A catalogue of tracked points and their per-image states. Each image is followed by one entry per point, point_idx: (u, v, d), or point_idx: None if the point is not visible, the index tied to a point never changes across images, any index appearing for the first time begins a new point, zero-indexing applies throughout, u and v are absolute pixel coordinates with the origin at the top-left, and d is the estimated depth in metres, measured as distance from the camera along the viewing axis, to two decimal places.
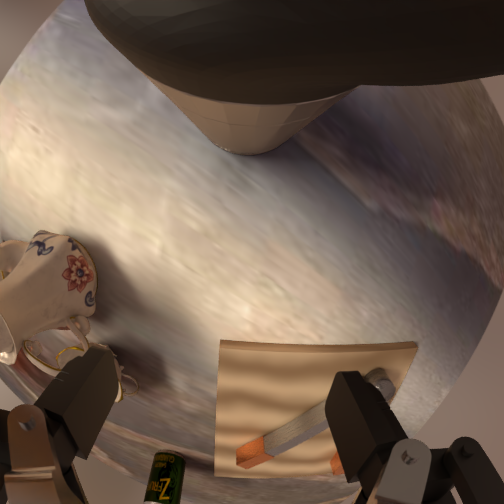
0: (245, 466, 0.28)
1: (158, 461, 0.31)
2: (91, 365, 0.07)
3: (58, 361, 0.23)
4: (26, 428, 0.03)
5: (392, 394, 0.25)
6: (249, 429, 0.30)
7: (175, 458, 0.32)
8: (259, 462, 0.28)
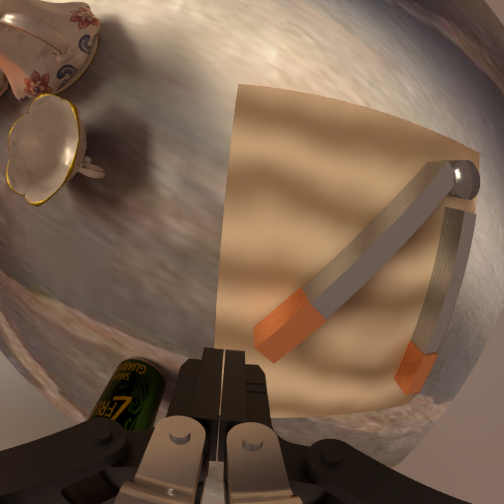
0: (271, 353, 0.19)
1: (118, 372, 0.21)
2: (217, 365, 0.08)
3: (10, 136, 0.13)
4: (189, 442, 0.05)
5: (477, 184, 0.16)
6: (277, 270, 0.21)
7: (147, 369, 0.23)
8: (298, 339, 0.18)
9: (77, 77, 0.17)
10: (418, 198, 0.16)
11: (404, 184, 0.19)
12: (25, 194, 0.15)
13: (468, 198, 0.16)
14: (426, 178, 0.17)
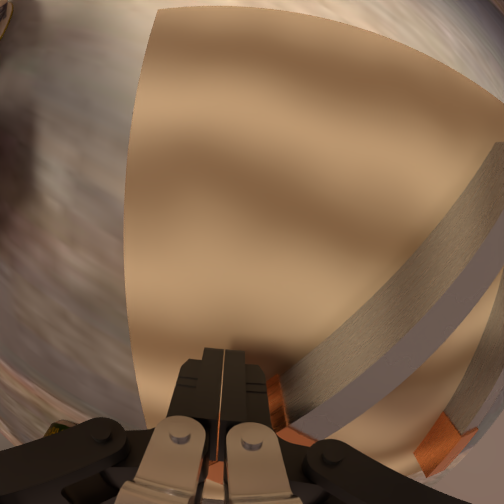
0: None
1: None
2: (217, 365, 0.08)
3: None
4: (189, 443, 0.05)
5: None
6: (233, 344, 0.11)
7: None
8: None
9: None
10: None
11: (464, 179, 0.09)
12: None
13: None
14: None
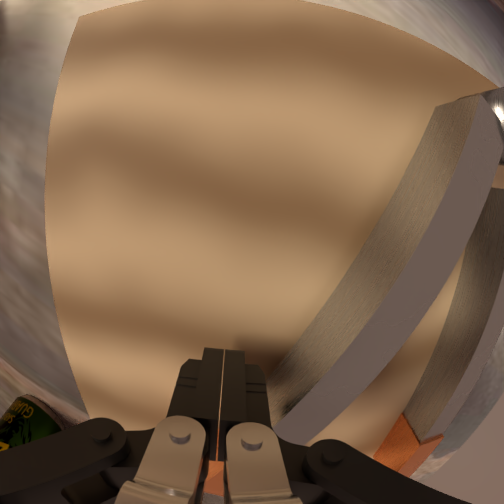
0: (220, 492, 0.09)
1: (8, 410, 0.11)
2: (217, 365, 0.08)
3: None
4: (189, 443, 0.05)
5: None
6: (132, 313, 0.10)
7: (35, 412, 0.13)
8: None
9: None
10: (443, 200, 0.06)
11: (394, 135, 0.09)
12: None
13: None
14: (448, 142, 0.06)
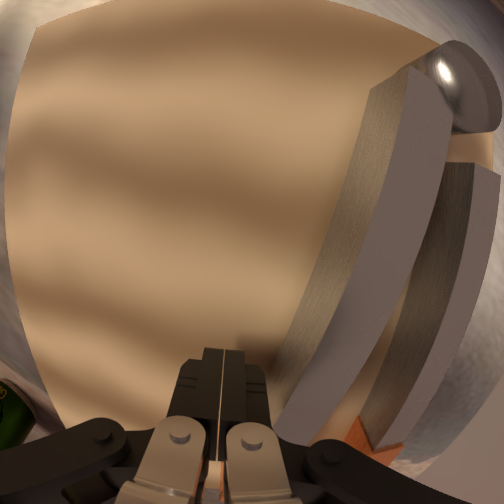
0: None
1: None
2: (217, 365, 0.08)
3: None
4: (189, 443, 0.05)
5: (493, 85, 0.05)
6: (70, 294, 0.10)
7: (8, 394, 0.12)
8: None
9: None
10: (377, 211, 0.06)
11: (317, 109, 0.09)
12: None
13: (492, 128, 0.05)
14: (381, 135, 0.06)
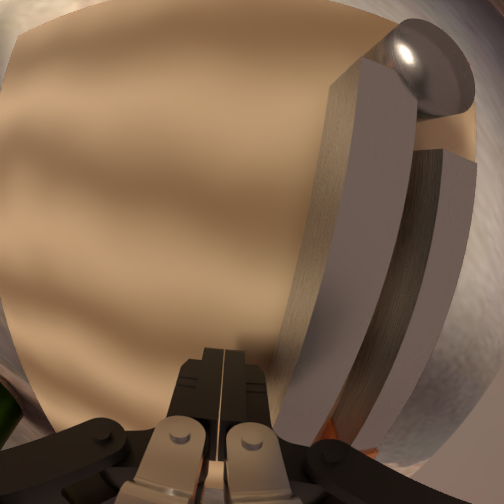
0: None
1: None
2: (217, 365, 0.08)
3: None
4: (189, 443, 0.05)
5: (462, 60, 0.05)
6: (45, 288, 0.10)
7: None
8: None
9: None
10: (339, 221, 0.06)
11: (272, 101, 0.08)
12: None
13: (465, 107, 0.05)
14: (339, 137, 0.07)
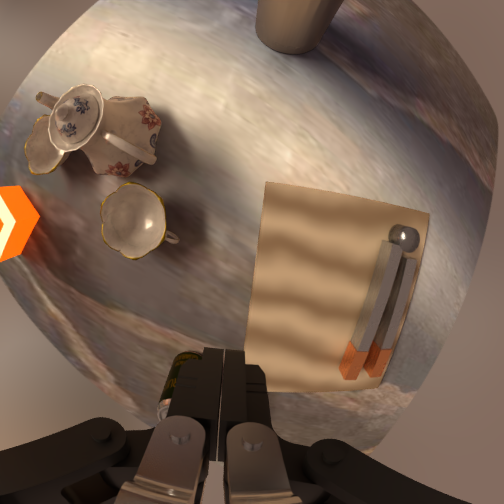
0: (352, 377, 0.34)
1: (179, 360, 0.35)
2: (217, 365, 0.08)
3: (102, 207, 0.28)
4: (189, 443, 0.05)
5: (417, 235, 0.30)
6: (286, 295, 0.35)
7: (198, 358, 0.36)
8: (360, 365, 0.34)
9: None
10: (383, 277, 0.31)
11: (367, 242, 0.34)
12: (120, 250, 0.29)
13: (414, 249, 0.30)
14: (384, 259, 0.32)
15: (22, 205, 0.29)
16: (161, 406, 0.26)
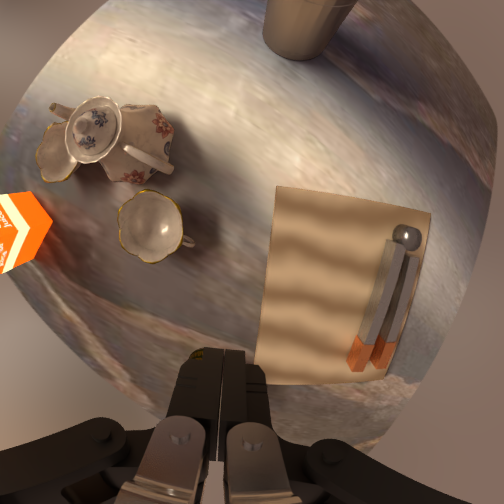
0: (359, 369, 0.36)
1: (195, 357, 0.37)
2: (217, 365, 0.08)
3: (119, 214, 0.30)
4: (189, 442, 0.05)
5: (420, 235, 0.31)
6: (297, 293, 0.36)
7: None
8: (367, 358, 0.36)
9: None
10: (388, 275, 0.33)
11: (372, 241, 0.35)
12: (138, 255, 0.31)
13: (417, 248, 0.32)
14: (388, 257, 0.33)
15: (34, 211, 0.31)
16: None
